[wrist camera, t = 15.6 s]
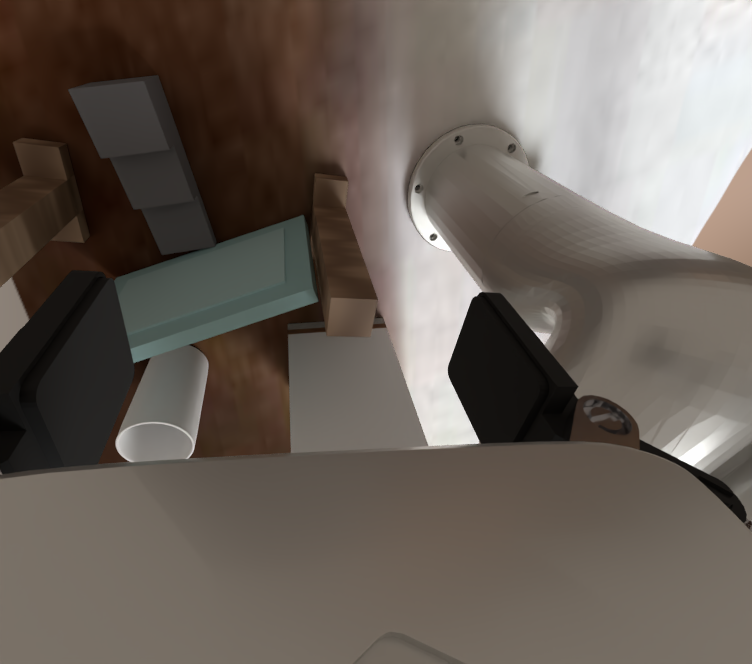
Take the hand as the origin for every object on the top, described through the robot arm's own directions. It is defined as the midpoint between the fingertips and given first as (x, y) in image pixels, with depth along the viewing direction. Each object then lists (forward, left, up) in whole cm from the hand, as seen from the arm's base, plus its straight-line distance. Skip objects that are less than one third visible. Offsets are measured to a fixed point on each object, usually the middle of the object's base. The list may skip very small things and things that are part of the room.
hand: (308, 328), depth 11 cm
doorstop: (+11, +6, -31) cm, 33 cm away
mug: (+12, +29, -31) cm, 44 cm away
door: (+7, +12, -30) cm, 33 cm away
